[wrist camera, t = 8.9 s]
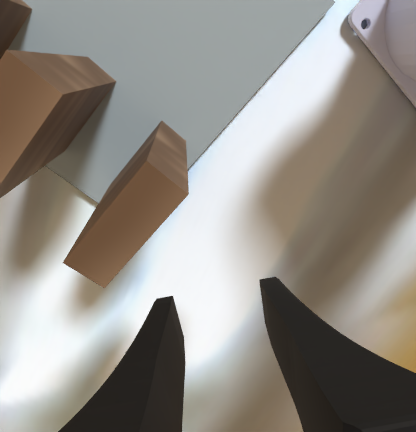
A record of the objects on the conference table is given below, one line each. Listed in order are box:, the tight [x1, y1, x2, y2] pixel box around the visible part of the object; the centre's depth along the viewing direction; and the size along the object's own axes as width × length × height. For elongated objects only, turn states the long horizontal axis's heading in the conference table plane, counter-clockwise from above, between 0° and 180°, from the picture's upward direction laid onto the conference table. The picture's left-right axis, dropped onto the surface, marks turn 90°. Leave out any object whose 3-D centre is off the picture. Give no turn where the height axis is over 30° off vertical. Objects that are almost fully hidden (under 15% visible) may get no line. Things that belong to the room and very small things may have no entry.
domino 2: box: [63, 121, 189, 288], centre depth 16 cm, size 2×5×9 cm, turn 138°
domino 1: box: [0, 50, 116, 198], centre depth 15 cm, size 2×5×9 cm, turn 138°
